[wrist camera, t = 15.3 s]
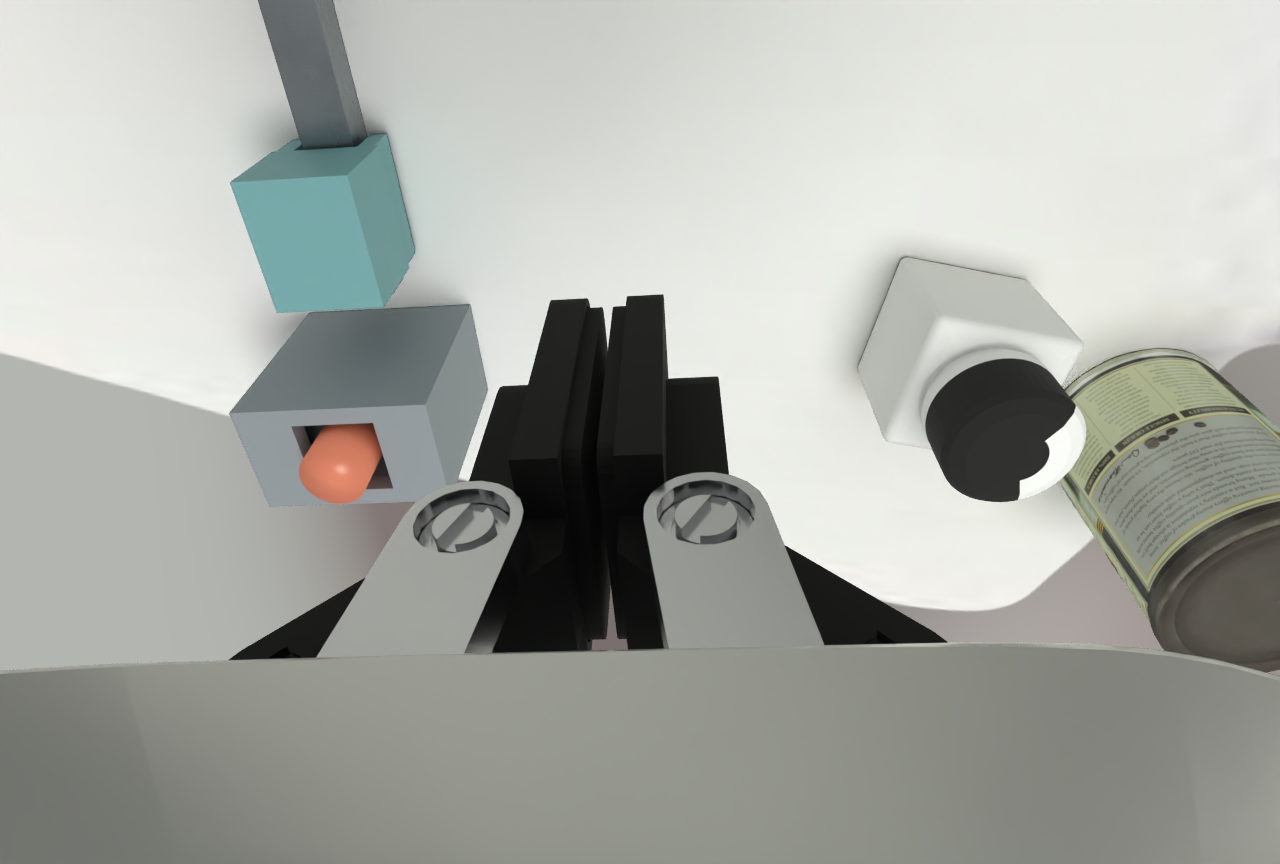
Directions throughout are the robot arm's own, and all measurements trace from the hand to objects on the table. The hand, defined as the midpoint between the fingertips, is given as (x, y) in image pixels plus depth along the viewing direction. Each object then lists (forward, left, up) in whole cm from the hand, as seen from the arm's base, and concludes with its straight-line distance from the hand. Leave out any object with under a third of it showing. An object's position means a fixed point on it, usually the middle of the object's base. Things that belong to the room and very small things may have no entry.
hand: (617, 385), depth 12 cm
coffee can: (+22, +27, -29) cm, 46 cm away
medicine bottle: (+15, +15, -29) cm, 36 cm away
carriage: (+6, -15, -29) cm, 33 cm away
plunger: (+15, -15, -22) cm, 31 cm away
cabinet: (+15, -15, -29) cm, 36 cm away
